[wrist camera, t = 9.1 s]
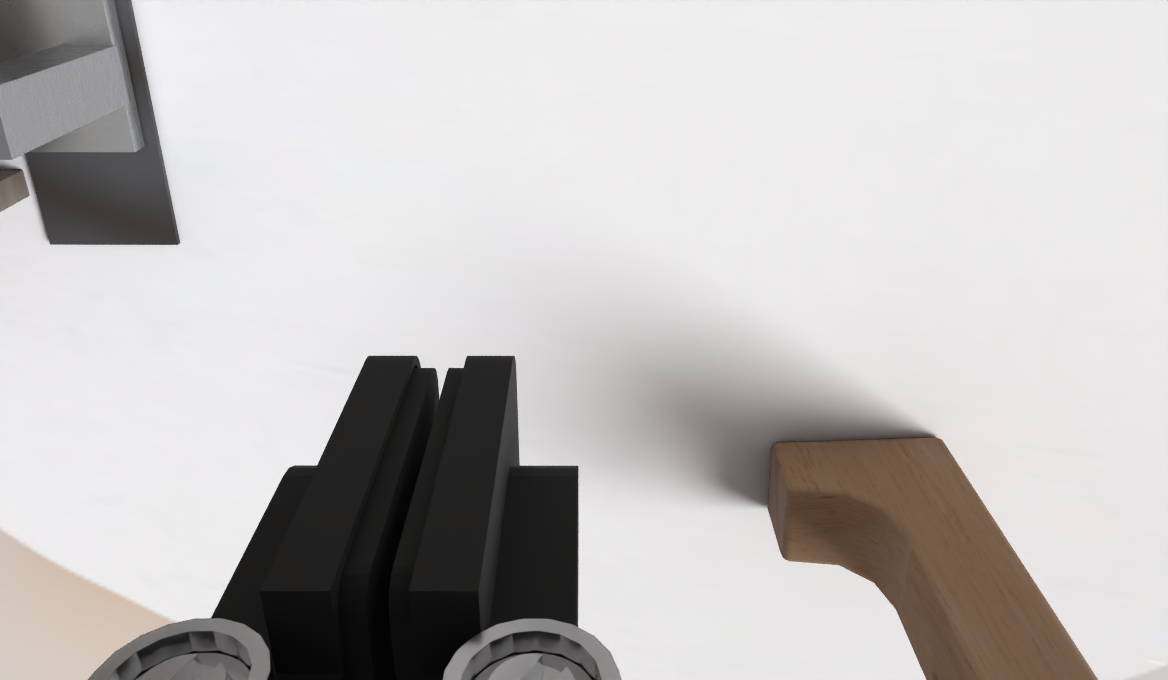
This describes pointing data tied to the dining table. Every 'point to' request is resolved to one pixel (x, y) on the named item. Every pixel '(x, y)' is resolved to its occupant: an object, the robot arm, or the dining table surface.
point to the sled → (64, 79)
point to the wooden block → (921, 554)
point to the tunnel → (104, 178)
